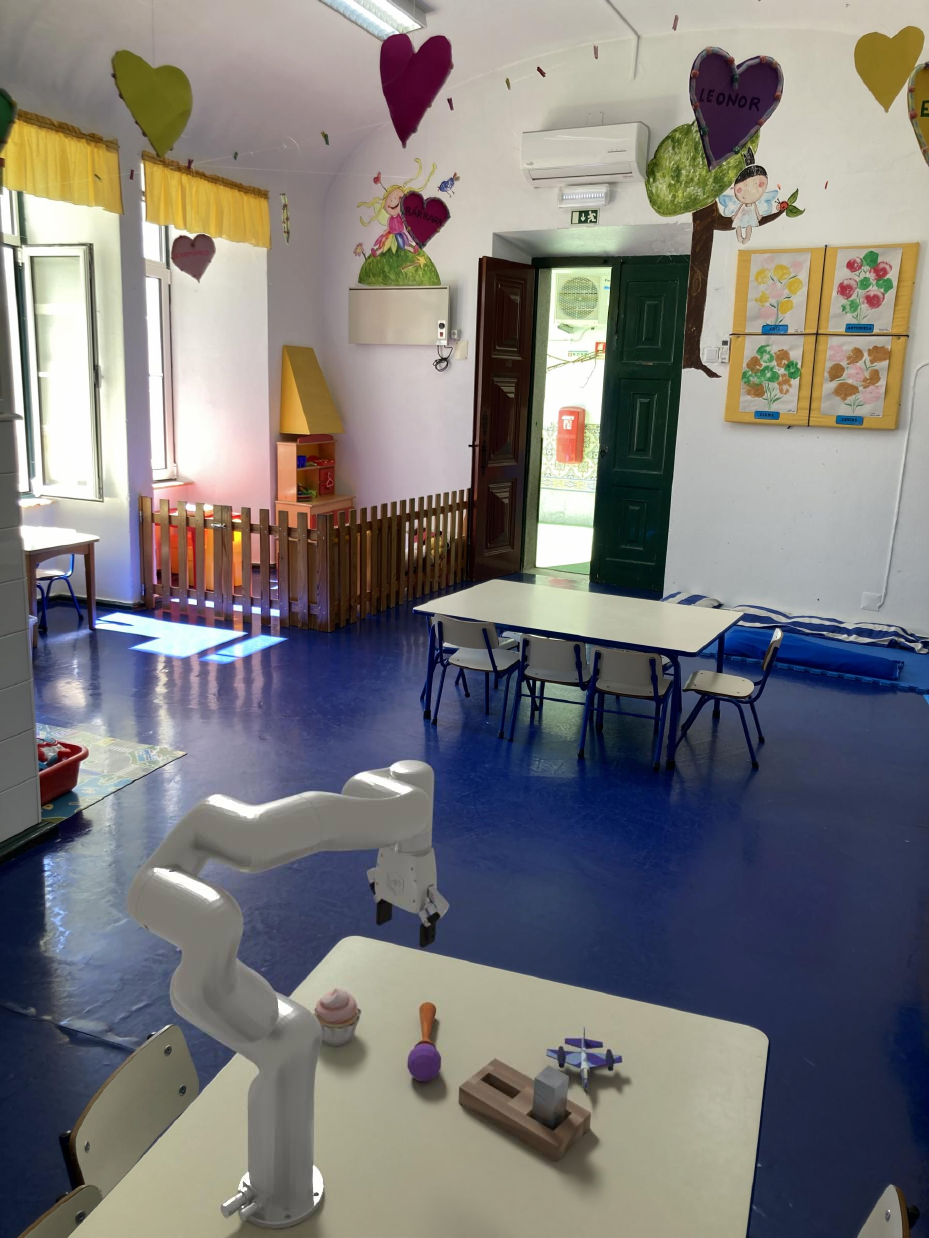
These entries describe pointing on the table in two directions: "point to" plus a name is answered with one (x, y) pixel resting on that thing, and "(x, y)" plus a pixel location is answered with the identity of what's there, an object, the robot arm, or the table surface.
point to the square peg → (550, 1097)
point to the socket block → (520, 1109)
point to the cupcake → (337, 1017)
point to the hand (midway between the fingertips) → (405, 932)
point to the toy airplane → (584, 1057)
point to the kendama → (425, 1048)
